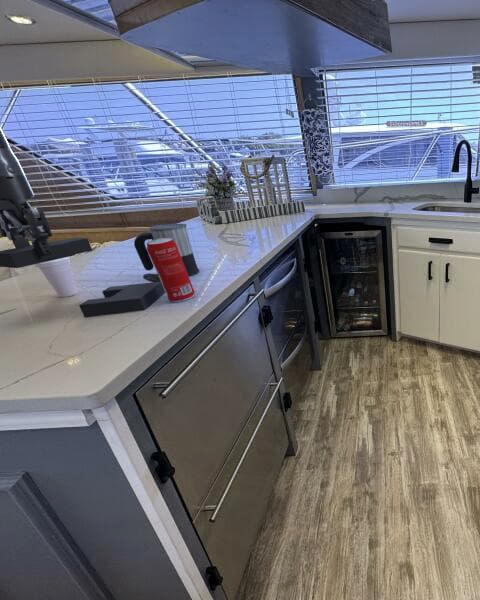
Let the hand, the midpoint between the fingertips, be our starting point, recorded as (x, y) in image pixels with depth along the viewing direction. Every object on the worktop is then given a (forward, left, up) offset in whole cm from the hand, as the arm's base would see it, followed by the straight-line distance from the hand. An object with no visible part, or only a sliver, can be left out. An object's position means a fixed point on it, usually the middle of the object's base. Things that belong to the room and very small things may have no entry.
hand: (37, 256), depth 69 cm
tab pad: (+1, +2, -1) cm, 2 cm away
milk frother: (+16, +20, -14) cm, 29 cm away
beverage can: (+24, +1, -14) cm, 28 cm away
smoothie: (-8, +15, -14) cm, 22 cm away
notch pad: (+12, +2, -13) cm, 18 cm away
